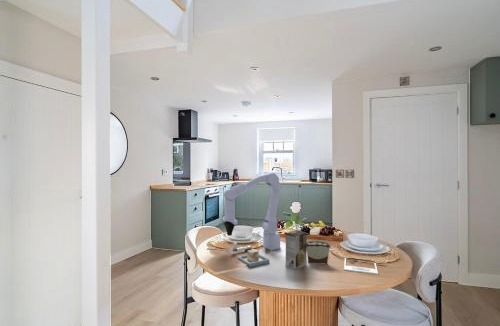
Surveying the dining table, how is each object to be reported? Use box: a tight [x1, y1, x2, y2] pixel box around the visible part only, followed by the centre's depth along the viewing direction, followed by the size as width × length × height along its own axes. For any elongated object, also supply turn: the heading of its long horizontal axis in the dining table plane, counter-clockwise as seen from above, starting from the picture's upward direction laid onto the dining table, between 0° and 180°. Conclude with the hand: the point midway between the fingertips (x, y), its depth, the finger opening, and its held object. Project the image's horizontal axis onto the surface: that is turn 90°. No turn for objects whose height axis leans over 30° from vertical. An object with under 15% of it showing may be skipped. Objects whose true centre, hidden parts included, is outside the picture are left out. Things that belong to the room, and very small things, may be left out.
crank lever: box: [232, 241, 253, 251], centre depth 157 cm, size 12×3×5 cm, turn 123°
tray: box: [237, 253, 271, 269], centre depth 144 cm, size 12×12×2 cm
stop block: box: [246, 248, 260, 263], centre depth 145 cm, size 4×4×5 cm
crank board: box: [222, 244, 254, 256], centre depth 160 cm, size 15×13×2 cm
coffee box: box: [285, 230, 308, 271], centre depth 140 cm, size 9×6×16 cm
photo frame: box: [343, 257, 379, 275], centre depth 140 cm, size 15×1×18 cm
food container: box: [307, 240, 331, 265], centre depth 146 cm, size 12×6×10 cm, turn 84°
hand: (229, 235), depth 160 cm, fingers closed
